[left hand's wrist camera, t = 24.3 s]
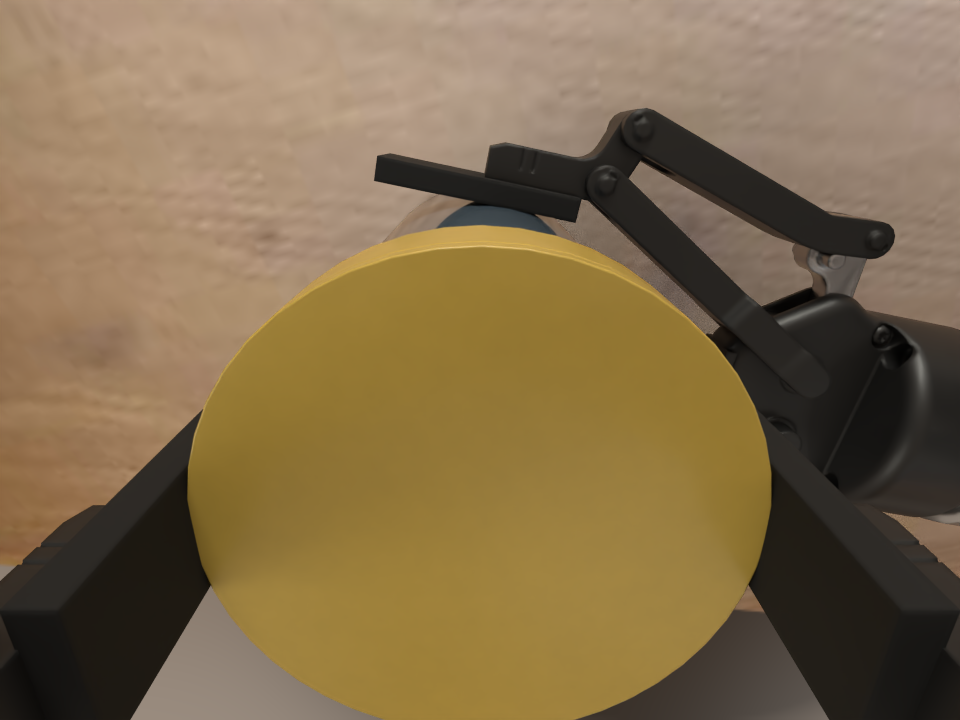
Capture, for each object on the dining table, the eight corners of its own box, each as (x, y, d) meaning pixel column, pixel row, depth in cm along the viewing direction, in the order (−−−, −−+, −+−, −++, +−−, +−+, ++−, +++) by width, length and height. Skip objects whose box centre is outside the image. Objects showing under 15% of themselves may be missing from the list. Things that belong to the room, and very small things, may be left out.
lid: (477, 712, 15) (476, 799, 13) (136, 468, 13) (70, 531, 11) (821, 474, 13) (886, 538, 11) (482, 93, 10) (483, 82, 8)
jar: (334, 282, 27) (136, 481, 11) (490, 137, 25) (509, 139, 9) (470, 420, 30) (460, 734, 14) (622, 301, 27) (812, 521, 12)
